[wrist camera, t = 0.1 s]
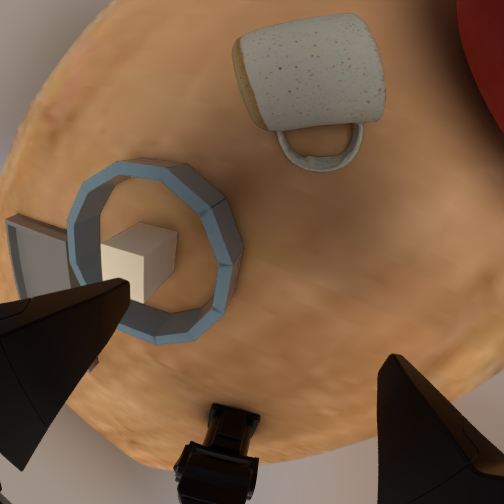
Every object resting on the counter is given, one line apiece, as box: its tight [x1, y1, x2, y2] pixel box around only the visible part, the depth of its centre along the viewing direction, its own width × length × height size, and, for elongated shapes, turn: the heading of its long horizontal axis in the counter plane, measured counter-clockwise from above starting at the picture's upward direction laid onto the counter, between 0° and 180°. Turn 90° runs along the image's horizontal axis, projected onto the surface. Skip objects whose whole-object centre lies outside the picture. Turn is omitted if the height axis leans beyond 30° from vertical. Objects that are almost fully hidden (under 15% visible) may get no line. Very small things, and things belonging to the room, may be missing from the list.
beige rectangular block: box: [101, 223, 178, 304], centre depth 22 cm, size 4×4×6 cm
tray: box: [5, 214, 99, 373], centre depth 29 cm, size 20×14×2 cm
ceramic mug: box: [232, 13, 386, 172], centre depth 15 cm, size 11×8×8 cm
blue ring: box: [67, 158, 244, 345], centre depth 23 cm, size 16×16×4 cm
